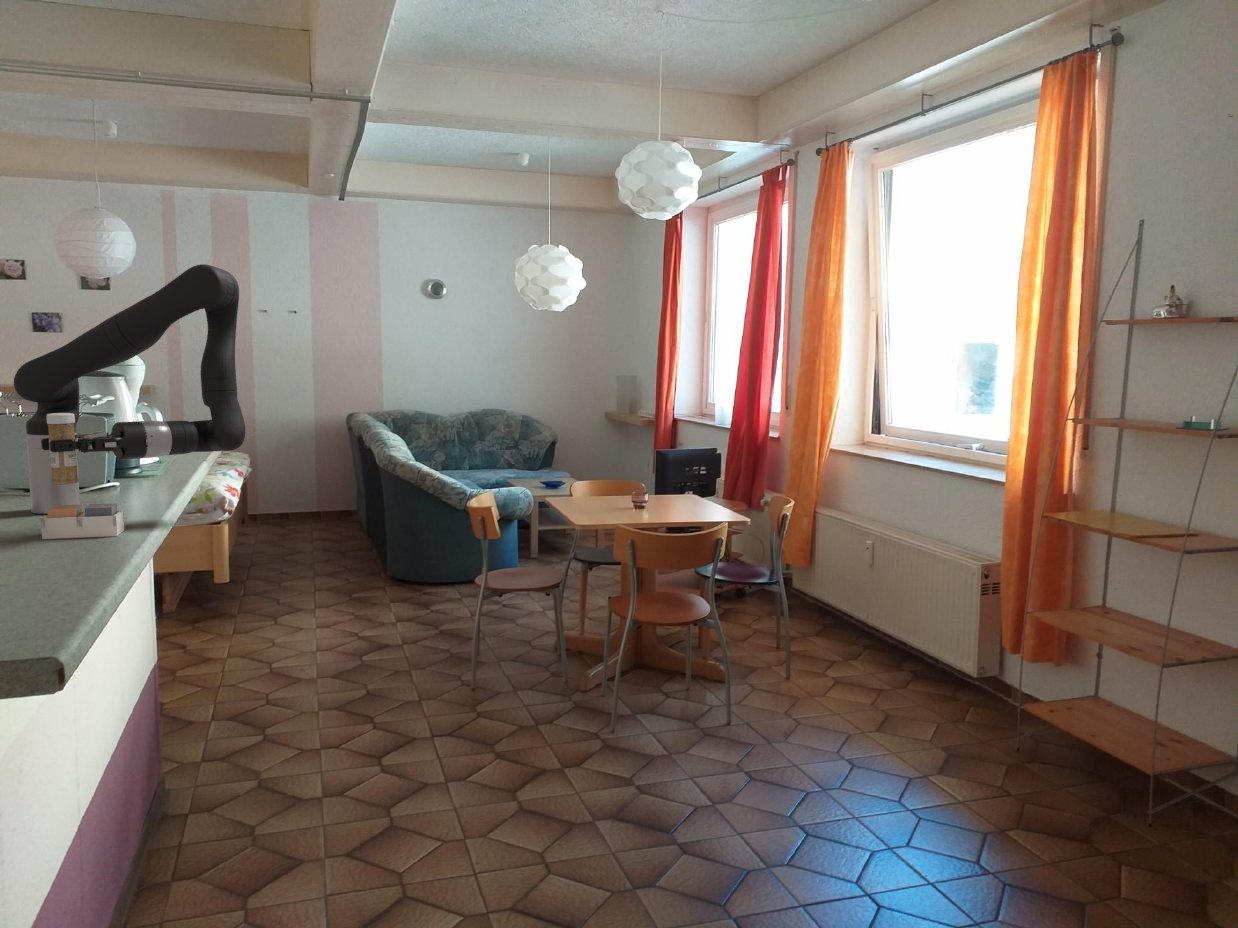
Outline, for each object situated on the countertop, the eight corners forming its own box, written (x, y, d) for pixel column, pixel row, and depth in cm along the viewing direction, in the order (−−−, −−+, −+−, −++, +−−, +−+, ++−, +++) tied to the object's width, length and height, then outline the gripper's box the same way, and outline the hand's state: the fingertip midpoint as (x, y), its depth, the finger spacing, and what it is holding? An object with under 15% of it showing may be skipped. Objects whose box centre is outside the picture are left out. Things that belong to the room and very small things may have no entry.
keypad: (52, 532, 176) (50, 513, 176) (124, 530, 180) (123, 510, 180) (42, 539, 170) (41, 518, 170) (117, 536, 174) (116, 516, 174)
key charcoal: (91, 514, 177) (90, 504, 177) (117, 513, 179) (116, 503, 179) (85, 518, 173) (84, 508, 173) (112, 517, 174) (111, 507, 174)
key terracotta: (55, 515, 176) (54, 505, 175) (81, 514, 177) (81, 504, 177) (48, 519, 171) (47, 509, 171) (75, 518, 173) (75, 508, 172)
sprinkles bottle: (79, 483, 173) (75, 413, 171) (51, 485, 170) (46, 414, 169) (78, 481, 177) (73, 412, 175) (50, 482, 174) (45, 413, 172)
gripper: (127, 419, 187) (32, 423, 175) (155, 423, 178) (57, 427, 165) (129, 455, 188) (35, 461, 176) (157, 461, 179) (59, 468, 166)
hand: (46, 445), depth 171 cm, fingers closed on sprinkles bottle, 4 cm apart
